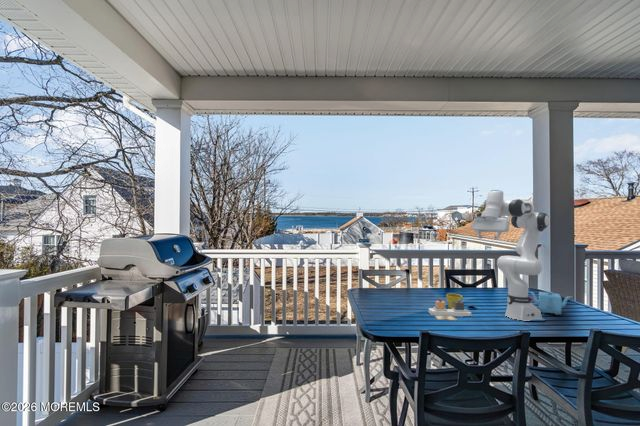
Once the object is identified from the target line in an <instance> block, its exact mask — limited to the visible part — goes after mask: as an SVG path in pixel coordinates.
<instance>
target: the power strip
mask: <svg viewBox="0 0 640 426" xmlns="http://www.w3.org/2000/svg"><path fill="white" fill-rule="evenodd" d="M435 307H436V306H433V308H432V307H431V308H430V307H429V308H428V310H427V311H428V313H429V314H430V315H431V316H454V317H463V316H471V317H472V312H471V311H470V310H469V309H465V308H464V310H455V309H454V308H452V309H449V308H446V307H445V309H436V308H435Z"/></svg>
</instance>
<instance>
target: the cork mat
mask: <svg viewBox="0 0 640 426" xmlns="http://www.w3.org/2000/svg"><path fill="white" fill-rule="evenodd" d="M433 316H434V318H435V319H437V320H438V321H439V320H440V321H458V320H459V319H458V318H456V316H440V315H433Z"/></svg>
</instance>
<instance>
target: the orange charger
mask: <svg viewBox="0 0 640 426" xmlns="http://www.w3.org/2000/svg"><path fill="white" fill-rule="evenodd" d="M438 299H439V300H435V306H434V307H435V308H436V309H445V308H446V301H444V300H443V299H442V298H441V297H439V298H438Z"/></svg>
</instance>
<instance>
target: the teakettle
mask: <svg viewBox="0 0 640 426" xmlns="http://www.w3.org/2000/svg"><path fill="white" fill-rule="evenodd" d="M529 293H530V294H531V295H532V298H534V300H535V301H534V303H535V304H536V305H538V309H539V310H540V311H541V312H546V314H547V313H549V314H553V313H558V315H562V308H564V307H565V306H566V305H567V303H568V300H569V299H572V296H565V297H564V299H563V301H562V297H561V294H560V293H553V291H548V290H547V291H546V292H544V291H538V297H537V296H536V293H535V292H534V291H528V294H529Z"/></svg>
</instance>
